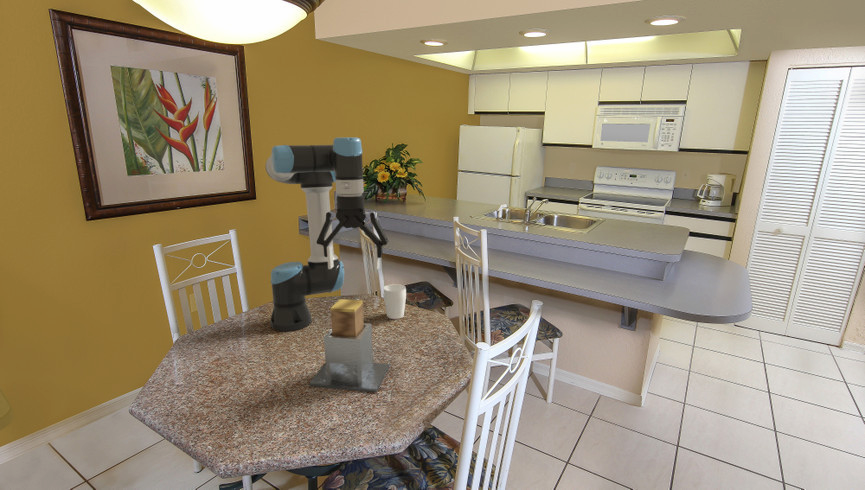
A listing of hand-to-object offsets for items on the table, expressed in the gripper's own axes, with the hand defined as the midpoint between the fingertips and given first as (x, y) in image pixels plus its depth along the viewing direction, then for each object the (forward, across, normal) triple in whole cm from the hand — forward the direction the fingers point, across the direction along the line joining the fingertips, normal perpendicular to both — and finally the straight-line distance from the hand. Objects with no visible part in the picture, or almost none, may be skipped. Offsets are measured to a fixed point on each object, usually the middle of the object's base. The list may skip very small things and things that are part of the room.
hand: (354, 268), depth 124 cm
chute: (+33, -2, -4) cm, 33 cm away
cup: (+33, +4, +42) cm, 53 cm away
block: (+24, -2, -4) cm, 24 cm away
